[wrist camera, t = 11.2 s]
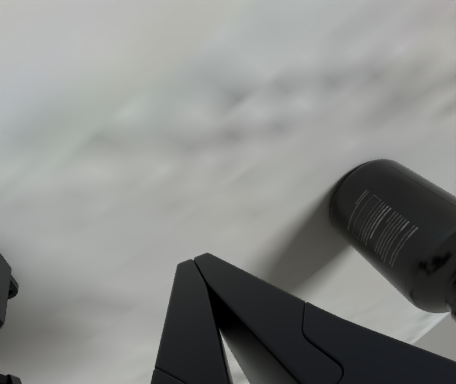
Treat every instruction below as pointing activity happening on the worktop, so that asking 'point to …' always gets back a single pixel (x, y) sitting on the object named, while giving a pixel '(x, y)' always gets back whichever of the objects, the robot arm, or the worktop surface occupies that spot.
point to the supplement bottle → (402, 231)
